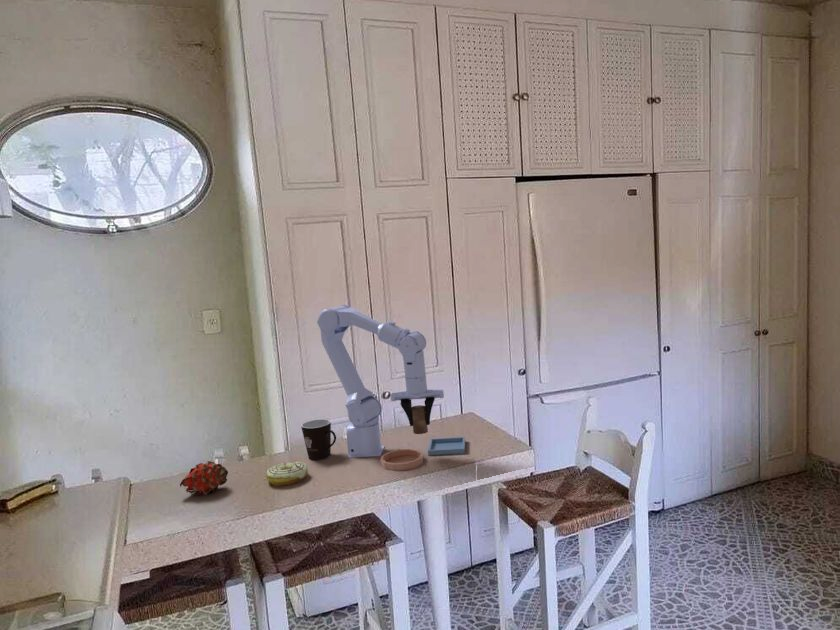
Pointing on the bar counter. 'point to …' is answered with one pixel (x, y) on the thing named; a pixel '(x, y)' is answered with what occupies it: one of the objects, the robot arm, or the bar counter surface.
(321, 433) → the coffee mug
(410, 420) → the robot arm
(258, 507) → the bar counter surface
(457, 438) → the slate tray
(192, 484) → the dragon fruit
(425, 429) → the walnut cylinder
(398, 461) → the terracotta bowl
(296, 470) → the decorated donut
